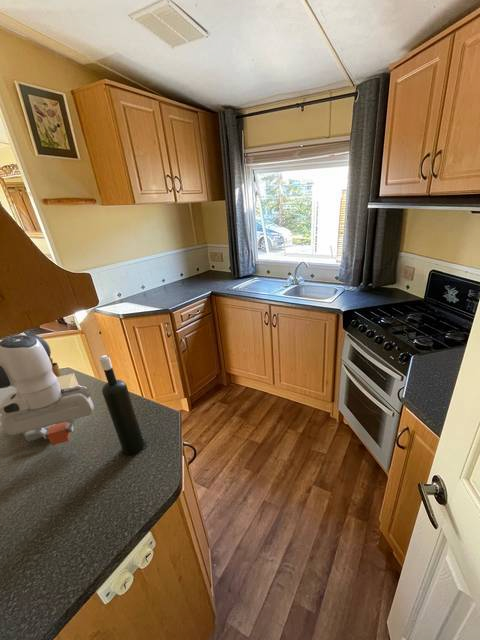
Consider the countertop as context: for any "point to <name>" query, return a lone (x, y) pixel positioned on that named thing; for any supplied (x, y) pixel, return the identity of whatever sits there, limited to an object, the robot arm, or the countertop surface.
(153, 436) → the countertop surface
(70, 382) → the cabinet
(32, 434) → the drawer
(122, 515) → the countertop surface
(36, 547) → the countertop surface
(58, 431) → the block
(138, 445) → the wine bottle
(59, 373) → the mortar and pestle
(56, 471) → the countertop surface
